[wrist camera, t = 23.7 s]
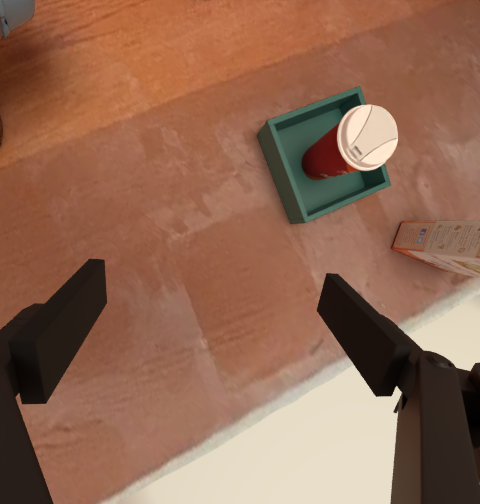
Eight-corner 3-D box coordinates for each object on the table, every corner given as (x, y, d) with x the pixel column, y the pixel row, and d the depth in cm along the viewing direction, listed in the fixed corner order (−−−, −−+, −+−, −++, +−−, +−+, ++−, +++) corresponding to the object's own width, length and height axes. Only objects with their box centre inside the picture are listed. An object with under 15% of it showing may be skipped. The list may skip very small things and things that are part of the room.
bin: (256, 135, 44) (267, 120, 38) (338, 104, 46) (360, 85, 40) (290, 224, 46) (305, 223, 40) (366, 190, 48) (391, 185, 42)
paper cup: (316, 196, 45) (372, 182, 32) (286, 162, 44) (330, 131, 30) (346, 164, 46) (414, 136, 32) (317, 129, 44) (375, 84, 31)
